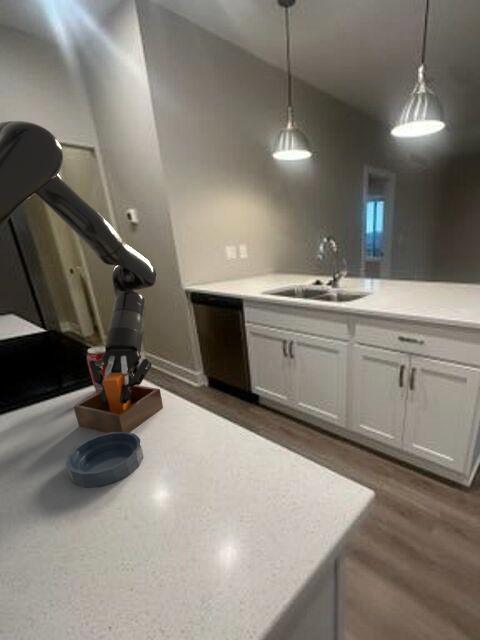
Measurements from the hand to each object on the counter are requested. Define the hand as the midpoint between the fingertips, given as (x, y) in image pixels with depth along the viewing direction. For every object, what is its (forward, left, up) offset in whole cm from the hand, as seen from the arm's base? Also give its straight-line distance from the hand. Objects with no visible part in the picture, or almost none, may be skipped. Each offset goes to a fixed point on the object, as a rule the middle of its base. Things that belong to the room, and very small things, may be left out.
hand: (115, 402), depth 77 cm
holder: (-1, +2, -5) cm, 6 cm away
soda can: (-15, +12, -6) cm, 20 cm away
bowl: (+9, -12, -5) cm, 16 cm away
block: (-1, +2, -4) cm, 5 cm away
